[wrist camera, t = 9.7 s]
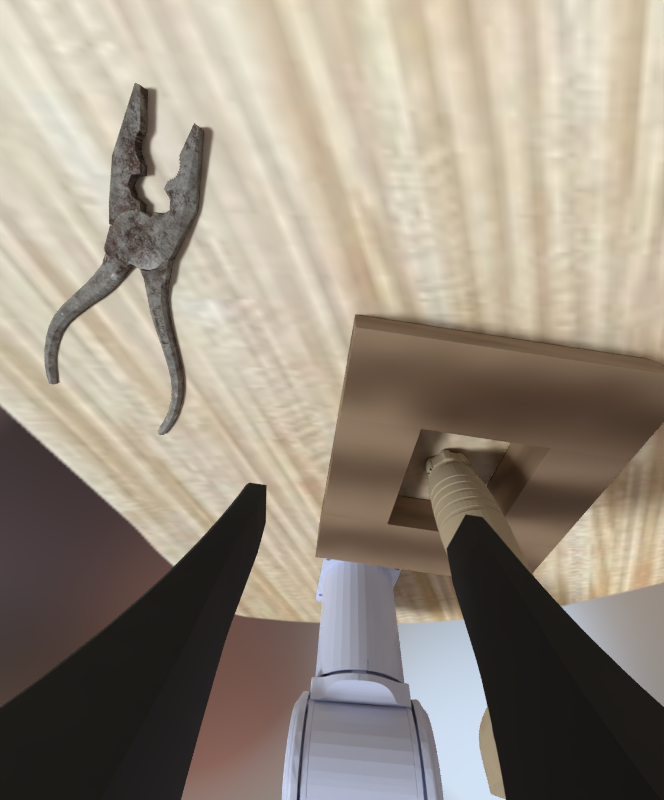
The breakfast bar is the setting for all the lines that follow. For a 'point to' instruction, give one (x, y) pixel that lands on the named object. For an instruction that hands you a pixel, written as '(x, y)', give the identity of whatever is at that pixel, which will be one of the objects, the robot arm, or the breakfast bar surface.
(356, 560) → the socket plate
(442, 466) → the handle
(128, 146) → the pliers
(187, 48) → the breakfast bar surface
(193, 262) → the breakfast bar surface
